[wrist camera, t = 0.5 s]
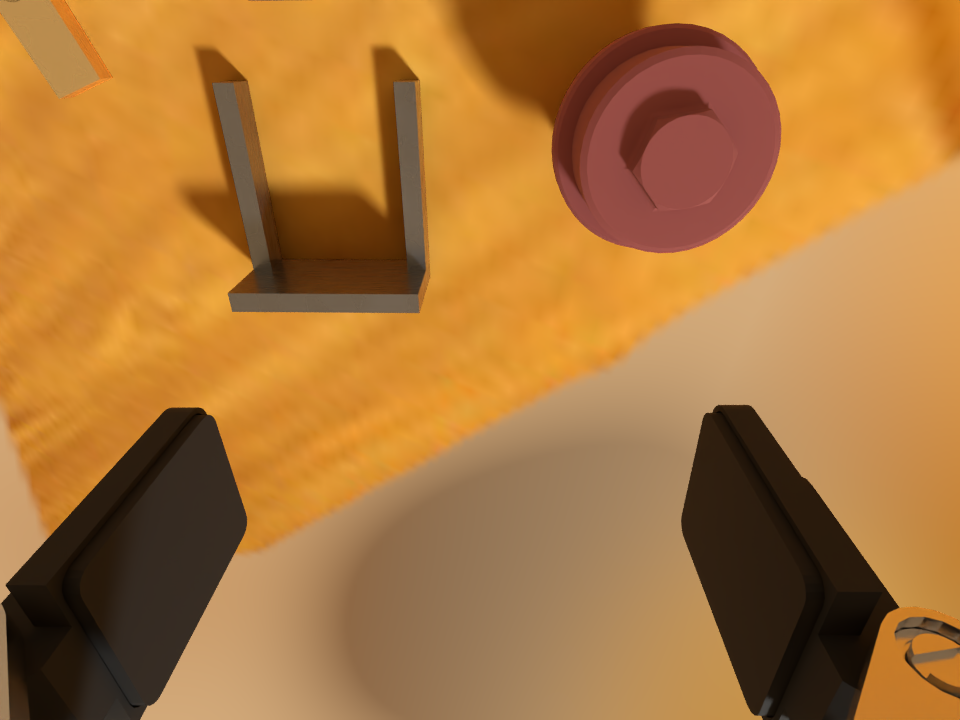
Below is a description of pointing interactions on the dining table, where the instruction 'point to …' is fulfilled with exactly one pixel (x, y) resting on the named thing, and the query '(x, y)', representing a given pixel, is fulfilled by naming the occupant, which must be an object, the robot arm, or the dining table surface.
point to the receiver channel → (323, 279)
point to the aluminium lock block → (265, 0)
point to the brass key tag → (56, 44)
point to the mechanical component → (666, 138)
